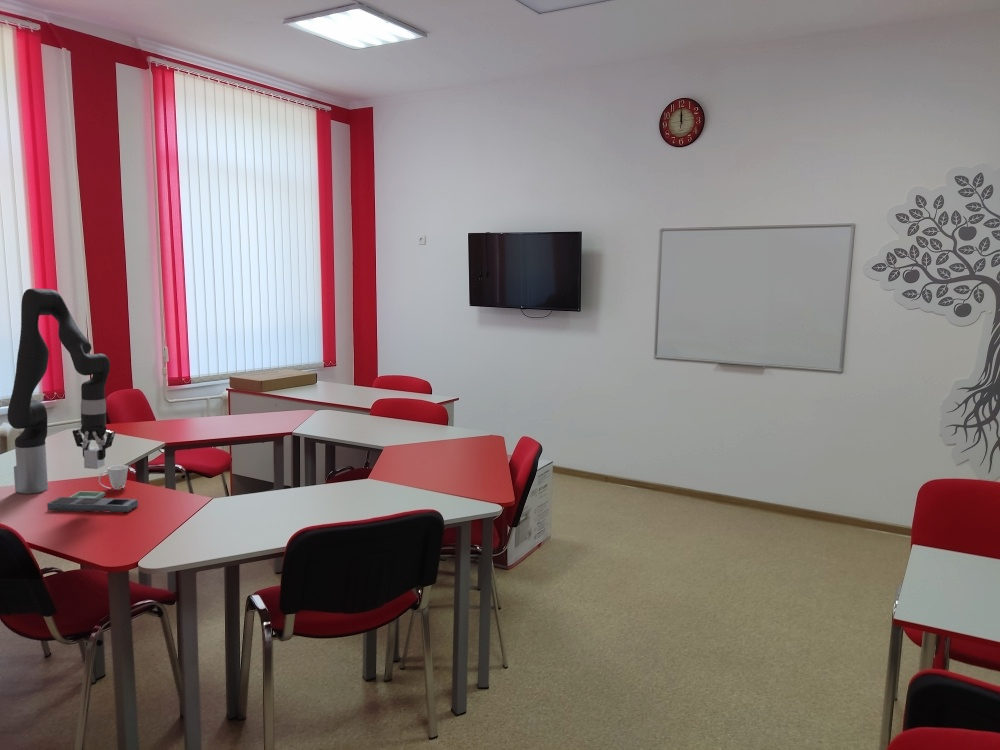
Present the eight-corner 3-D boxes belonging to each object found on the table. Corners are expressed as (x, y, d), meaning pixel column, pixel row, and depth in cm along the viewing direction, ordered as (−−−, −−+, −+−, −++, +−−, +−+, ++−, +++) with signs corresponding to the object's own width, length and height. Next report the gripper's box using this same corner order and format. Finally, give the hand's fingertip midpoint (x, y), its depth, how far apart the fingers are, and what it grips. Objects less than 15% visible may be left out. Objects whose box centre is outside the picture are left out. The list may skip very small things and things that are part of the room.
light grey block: (84, 468, 241) (83, 449, 240) (91, 464, 245) (91, 446, 244) (97, 468, 241) (97, 450, 240) (104, 465, 245) (104, 447, 244)
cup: (131, 488, 262) (130, 467, 261) (101, 493, 256) (100, 472, 255) (126, 483, 268) (125, 463, 266) (97, 488, 261) (96, 467, 260)
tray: (65, 503, 244) (65, 499, 243) (80, 495, 253) (80, 491, 252) (91, 504, 244) (91, 499, 244) (105, 496, 253) (105, 491, 253)
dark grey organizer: (47, 510, 236) (47, 503, 236) (60, 503, 243) (59, 496, 243) (127, 512, 237) (127, 505, 236) (137, 506, 244) (137, 499, 243)
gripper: (66, 412, 236) (67, 460, 239) (108, 415, 236) (109, 463, 239) (79, 407, 244) (80, 454, 246) (120, 410, 244) (120, 457, 246)
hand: (94, 458), depth 243 cm, fingers closed on light grey block, 4 cm apart
